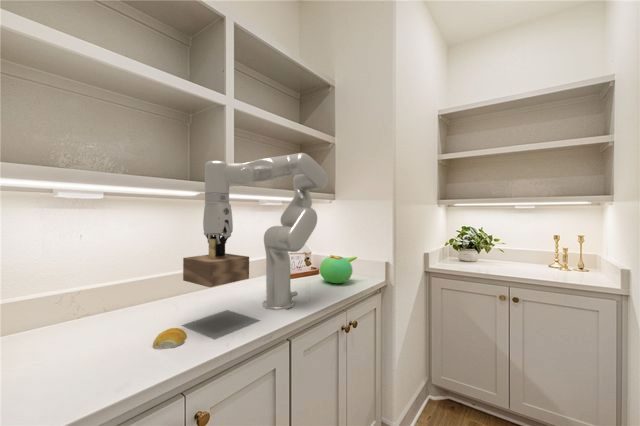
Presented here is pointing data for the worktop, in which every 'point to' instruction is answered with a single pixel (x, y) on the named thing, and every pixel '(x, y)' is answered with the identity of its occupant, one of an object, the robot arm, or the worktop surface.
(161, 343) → the bread roll
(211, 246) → the square lid with knob
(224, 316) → the rubber mat
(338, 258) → the green rounded piece
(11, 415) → the worktop surface
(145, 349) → the worktop surface
